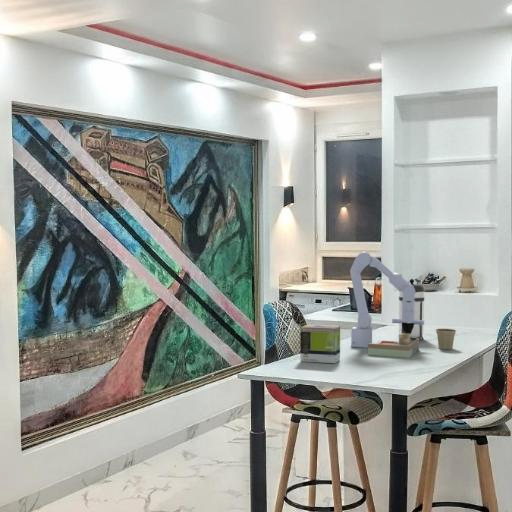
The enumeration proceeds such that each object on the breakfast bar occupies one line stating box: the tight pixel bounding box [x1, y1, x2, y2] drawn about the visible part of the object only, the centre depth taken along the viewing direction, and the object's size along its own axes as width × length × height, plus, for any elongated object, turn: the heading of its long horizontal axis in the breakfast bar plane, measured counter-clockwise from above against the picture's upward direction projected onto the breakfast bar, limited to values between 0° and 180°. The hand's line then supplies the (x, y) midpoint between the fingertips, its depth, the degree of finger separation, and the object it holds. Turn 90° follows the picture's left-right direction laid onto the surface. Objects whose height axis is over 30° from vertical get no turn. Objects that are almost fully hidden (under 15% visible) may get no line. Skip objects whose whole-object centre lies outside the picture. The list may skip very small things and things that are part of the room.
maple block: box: [398, 333, 412, 345], centre depth 360 cm, size 4×4×4 cm
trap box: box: [367, 338, 420, 359], centre depth 355 cm, size 18×24×5 cm
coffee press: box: [398, 278, 426, 341], centre depth 396 cm, size 17×16×30 cm
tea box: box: [299, 324, 341, 364], centre depth 330 cm, size 15×10×15 cm, turn 71°
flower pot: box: [435, 328, 457, 350], centre depth 366 cm, size 9×9×9 cm
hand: (407, 339), depth 367 cm, fingers closed
